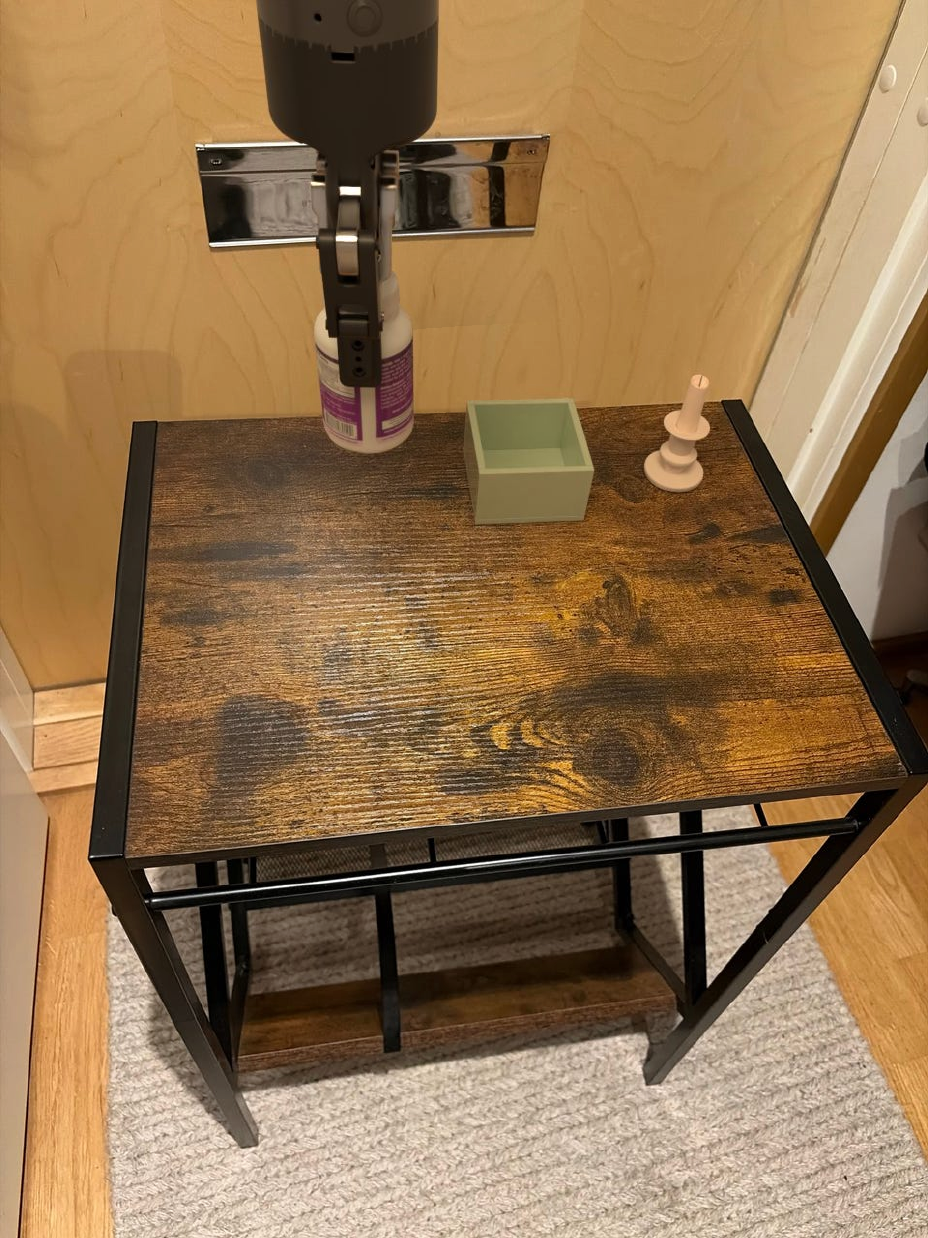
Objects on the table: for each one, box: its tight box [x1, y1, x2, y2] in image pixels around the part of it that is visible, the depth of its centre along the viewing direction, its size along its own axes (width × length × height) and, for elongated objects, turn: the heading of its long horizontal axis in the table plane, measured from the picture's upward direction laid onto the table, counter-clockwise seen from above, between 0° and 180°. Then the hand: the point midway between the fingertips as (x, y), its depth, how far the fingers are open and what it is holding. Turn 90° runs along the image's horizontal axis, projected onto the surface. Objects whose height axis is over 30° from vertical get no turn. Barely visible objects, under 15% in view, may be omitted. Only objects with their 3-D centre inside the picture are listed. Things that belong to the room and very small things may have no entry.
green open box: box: [462, 397, 595, 526], centre depth 79 cm, size 9×9×6 cm
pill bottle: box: [313, 269, 415, 454], centre depth 53 cm, size 5×5×10 cm
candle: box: [642, 374, 711, 493], centre depth 79 cm, size 5×5×10 cm
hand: (364, 349), depth 52 cm, fingers closed on pill bottle, 5 cm apart
